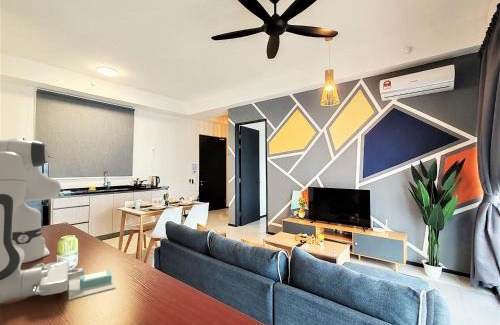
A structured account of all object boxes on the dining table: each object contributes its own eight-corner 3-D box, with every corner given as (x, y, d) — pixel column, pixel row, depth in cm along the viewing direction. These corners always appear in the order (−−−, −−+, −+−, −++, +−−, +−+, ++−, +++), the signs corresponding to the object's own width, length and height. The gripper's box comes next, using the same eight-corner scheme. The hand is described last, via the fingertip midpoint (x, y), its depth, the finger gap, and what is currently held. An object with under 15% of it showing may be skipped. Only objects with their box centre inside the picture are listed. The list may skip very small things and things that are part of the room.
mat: (69, 282, 93) (69, 281, 93) (110, 273, 101) (110, 272, 101) (68, 300, 81) (68, 298, 81) (115, 288, 89) (115, 287, 89)
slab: (80, 275, 92) (109, 269, 98) (79, 282, 92) (109, 275, 98) (80, 281, 87) (111, 275, 93) (80, 289, 87) (111, 281, 93)
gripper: (30, 284, 74) (84, 273, 82) (38, 262, 90) (83, 254, 99) (30, 305, 74) (84, 291, 82) (38, 278, 90) (82, 270, 99)
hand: (83, 271), depth 90 cm, fingers closed
